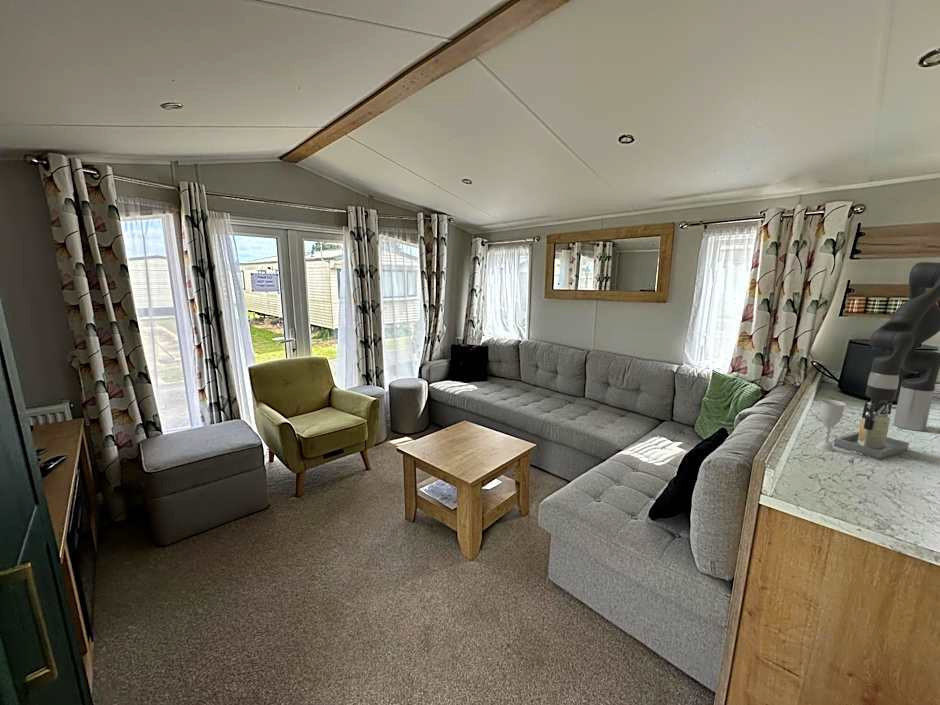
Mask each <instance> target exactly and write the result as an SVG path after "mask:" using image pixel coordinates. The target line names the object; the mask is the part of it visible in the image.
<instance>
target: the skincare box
mask: <svg viewBox="0 0 940 705" xmlns="http://www.w3.org/2000/svg"><path fill="white" fill-rule="evenodd" d="M862 414H863V412H862V413H861V415H862ZM869 416H870V414H869ZM890 419H891V417H889V416H885V415H883V414H879V416H876V418H875V420H874V425H873V429H872V430H868V429H864V424H865V418H862V417H861V419H860V424H859V430H858V432H859V436H858V442H857V443H858V444H860V445H862V446H866V447H869V448H879V449H885V444H886V438H887V437H888V431H889V428H890V427H889V426H890Z"/></svg>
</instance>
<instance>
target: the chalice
mask: <svg viewBox="0 0 940 705" xmlns="http://www.w3.org/2000/svg"><path fill="white" fill-rule="evenodd" d="M820 403H821V405H820V410H819V413H820V418H821V420H822V423H823V425H824V426H826V429H825V430H824V432H825V434H823V437H824V440H821V441H819V442H818V443H817V445H816V446H815V447H816V448H817V449H819V450H821V451H825V452H834V451H835V449H834V446H833V444H832V443H831V442H830V441H829V439H830V438H831V435H830V433H831V428H833V427H835V426H836V425H837V424H838V423H839V422H840V420H842V417H843V413H844V409H845V406H847V404H846V403H845V402H843V401H839V400H834V399H826V398H825V399H820Z"/></svg>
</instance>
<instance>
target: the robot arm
mask: <svg viewBox="0 0 940 705" xmlns="http://www.w3.org/2000/svg"><path fill="white" fill-rule="evenodd" d="M927 289H929V290H927ZM908 297H909V298H908V300H907V301H906V302H904V303H903V304H901V305H900V306H899V307H898V308H897V309H896V310H895V311H894V312H893V315H892V316H891V318H890V319H889V320H888V321H886V322H885V323H884V324H883V325H881V326H880V327H879V328H877V329H876V330H875V331H874V332H872V334H871V335H870V337H869V345H870V346H871V347H872V349H874V350H879V351H881V350H883V351H891V352H893V353H892V354H891V355H889V356H888V355H883V356H882V355H881V356H876V357H874V358H873V361H872V364H871V370H870V373H869V376H868V380H867V386H866V390H865V396H866V397H868V398H870V401H869V402H867V401H865V402H864V406H863V410H862V413H863V414H862V413H861V418H865V424H864V429H868V430H872V429H873V425H874V420H875V418H876V416H879V414H883V415H885V416H887V417H889V416H890V415H891V412H892V406H893V401H895V400H896V397H897V392H898V387H899V383H900V382H899V381H900V373H901V369H902V370H904V371H905V372H912V373H920V374H925V375H924V376H920V377H917V378H916V377H915V378H907V379H903V380H902V381H901V385H900V390H899V394H898V398H897V404H896V408H895V414H894V418H893V423H892V424H893V426H895V427H898V428H900V429H905V430H910V431H915V432H916V431H917V432H922V431H923V432H924V431H926V428H927V424H928V419H929V415H930V410H931V407H932V401H933V397H934V394H935V393H934V392H935V388H936V383H937V379H938V375H939V372H940V352H937V351H929V350H928V351H927V350H917V348H918V347H919V346H920V345H922V344H923V343H924V342H926V341H928V340H929V339H931V338H933V337H934V336H936V335H937V334H938V333H939V332H940V307H939V305H938V304H937V302H938V301H939V300H940V262H931V261H930V262H929V261H928V262H927V261H926V262H925V261H924V262H923V261H920V262H917V263H916V264H914V265H913V266H912V268H911V269H910V271H909V276H908ZM869 414H870V416H869Z"/></svg>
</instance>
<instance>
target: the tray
mask: <svg viewBox="0 0 940 705" xmlns="http://www.w3.org/2000/svg"><path fill="white" fill-rule="evenodd" d="M858 436H859V431H857V432H853V433H849V434H846V435H842V436H839V437H835V438H834V442H833V447H836V448H839V447H840V448H839V449H842V448H844V449H843V450H846V449H848V450H847V451H849V450H852V451H856V452H859V453H862V454H865V455H868V456H870V457H869V458H871V457H873V458H872V459H875V458H876V460H878V461H882V460H884V459H887V458H890V456H891V457H893V456H897V455H900V454H902V453H905V452H908V449H909V445H910V442H907V441H903V440H899V439H896V438H891V437H888V436H887V438H886V444H885V449H879V448H869V447H866V446H862V445H860V444H858V443H857V442H858ZM852 451H851V452H852ZM859 453H858V454H859ZM862 454H861V455H862ZM865 455H864V456H865ZM868 456H867V457H868Z"/></svg>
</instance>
